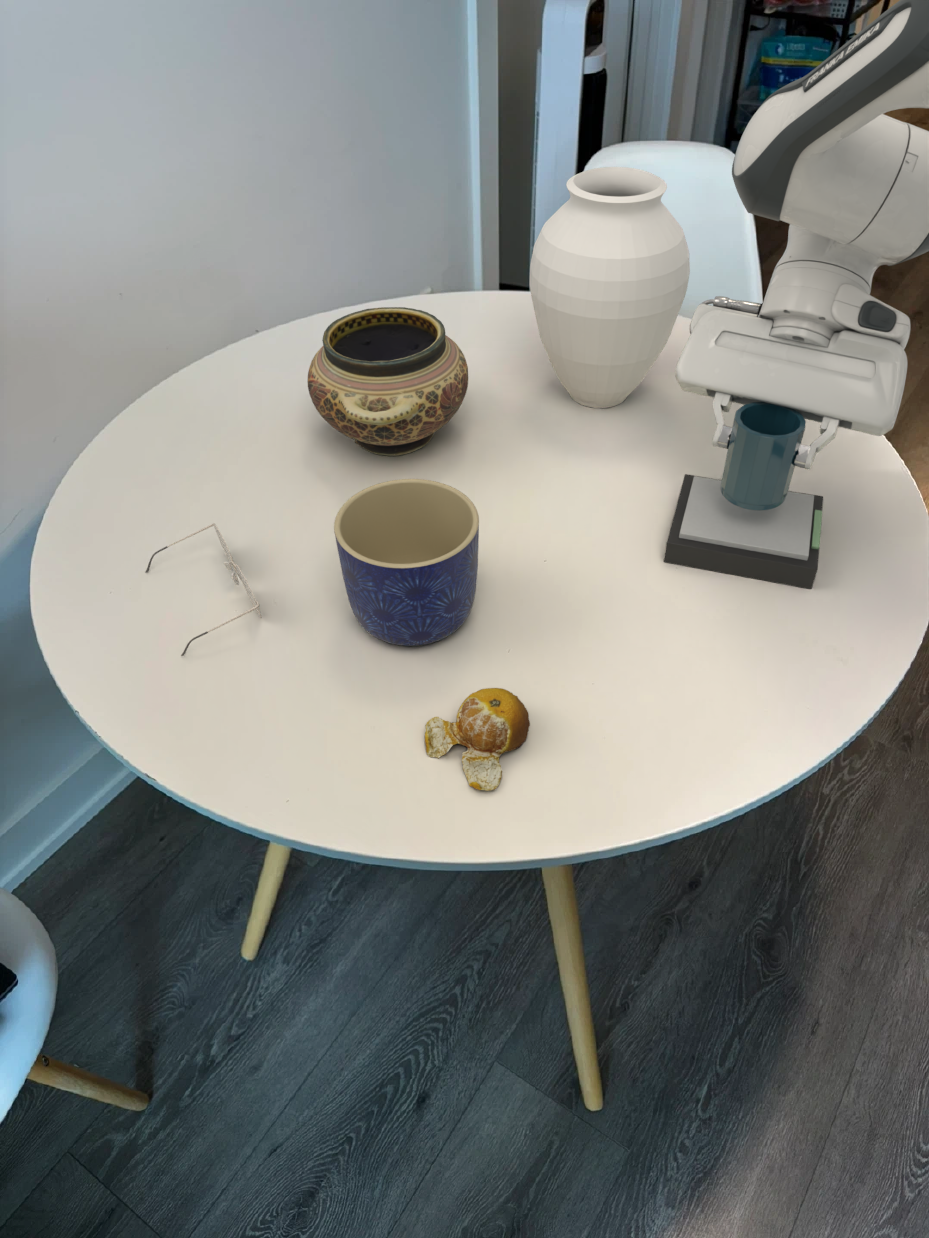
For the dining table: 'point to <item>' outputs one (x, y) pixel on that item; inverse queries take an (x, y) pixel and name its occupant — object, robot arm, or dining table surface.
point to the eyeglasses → (233, 576)
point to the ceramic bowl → (388, 378)
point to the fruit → (481, 734)
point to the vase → (608, 282)
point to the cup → (761, 455)
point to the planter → (409, 559)
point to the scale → (746, 535)
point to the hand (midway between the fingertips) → (760, 456)
